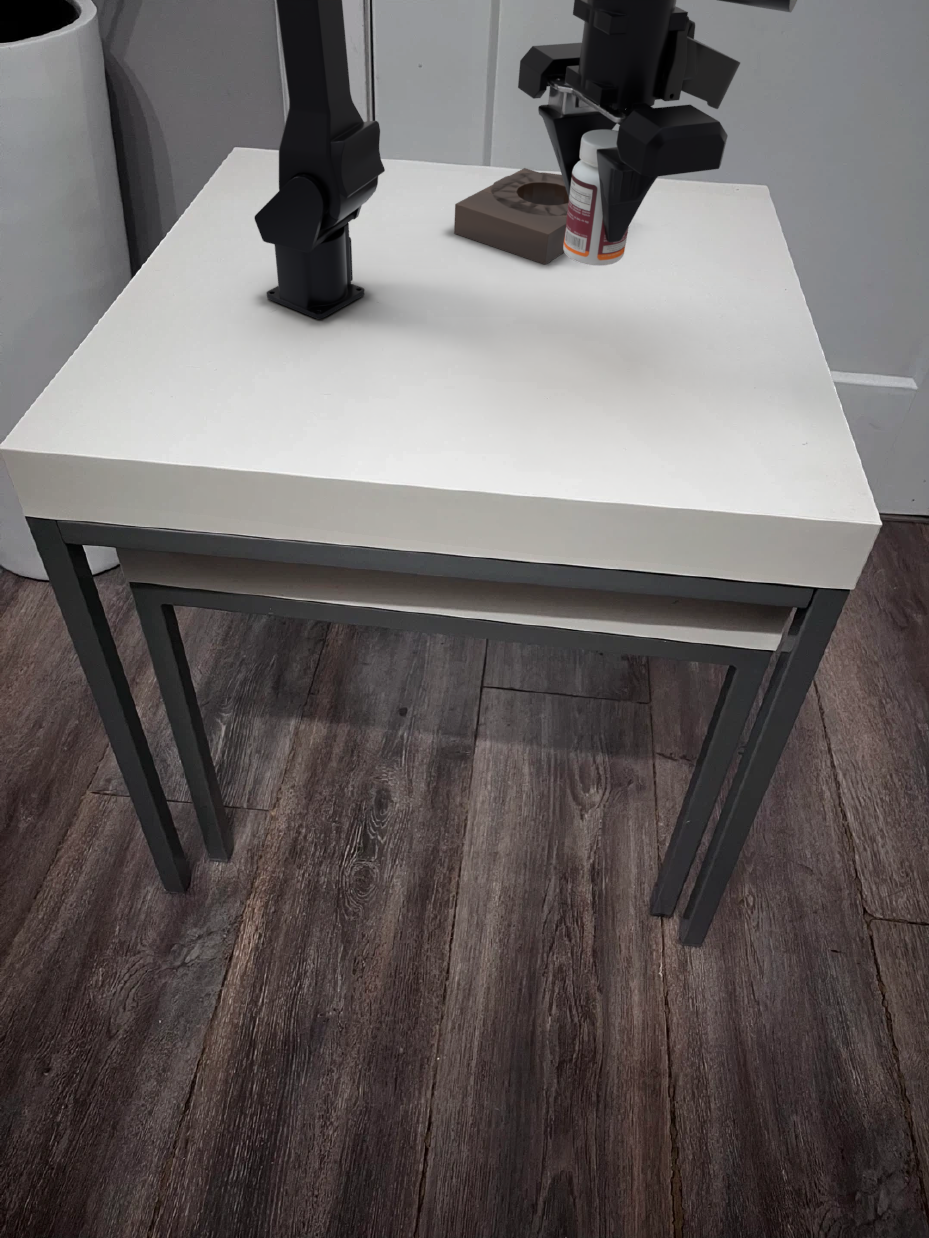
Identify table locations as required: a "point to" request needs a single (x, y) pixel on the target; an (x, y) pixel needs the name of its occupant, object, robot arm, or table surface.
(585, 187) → the pill bottle
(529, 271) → the table surface
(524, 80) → the robot arm
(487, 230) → the brown block with hole
